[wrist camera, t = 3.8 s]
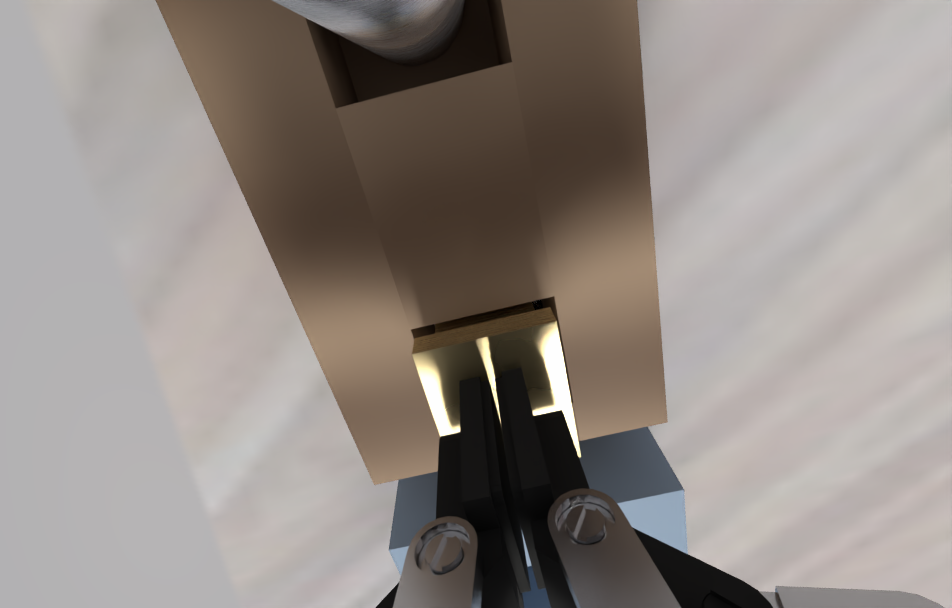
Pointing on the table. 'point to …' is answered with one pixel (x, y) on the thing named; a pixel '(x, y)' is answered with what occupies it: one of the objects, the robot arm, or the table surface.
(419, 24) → the steel peg
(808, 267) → the table surface
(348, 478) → the table surface
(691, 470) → the table surface
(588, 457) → the blue square hole block
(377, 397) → the socket block
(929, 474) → the table surface
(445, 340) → the key
